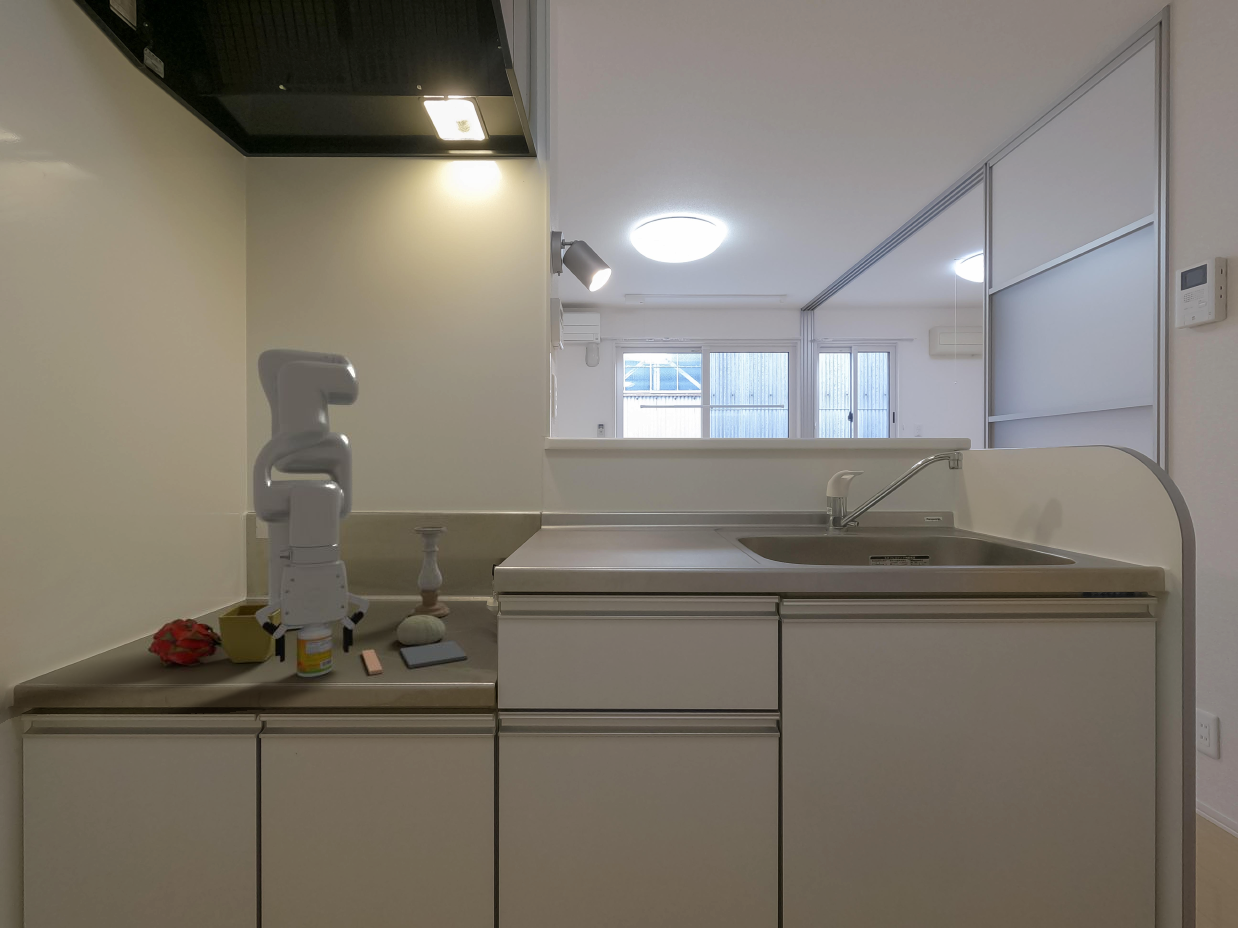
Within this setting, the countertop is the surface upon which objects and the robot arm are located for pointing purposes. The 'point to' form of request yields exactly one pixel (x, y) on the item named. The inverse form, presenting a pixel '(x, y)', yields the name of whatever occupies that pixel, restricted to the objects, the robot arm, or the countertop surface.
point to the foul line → (371, 662)
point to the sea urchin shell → (420, 630)
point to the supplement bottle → (314, 650)
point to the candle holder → (430, 575)
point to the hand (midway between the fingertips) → (314, 654)
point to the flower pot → (247, 634)
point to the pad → (432, 654)
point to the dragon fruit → (184, 642)
